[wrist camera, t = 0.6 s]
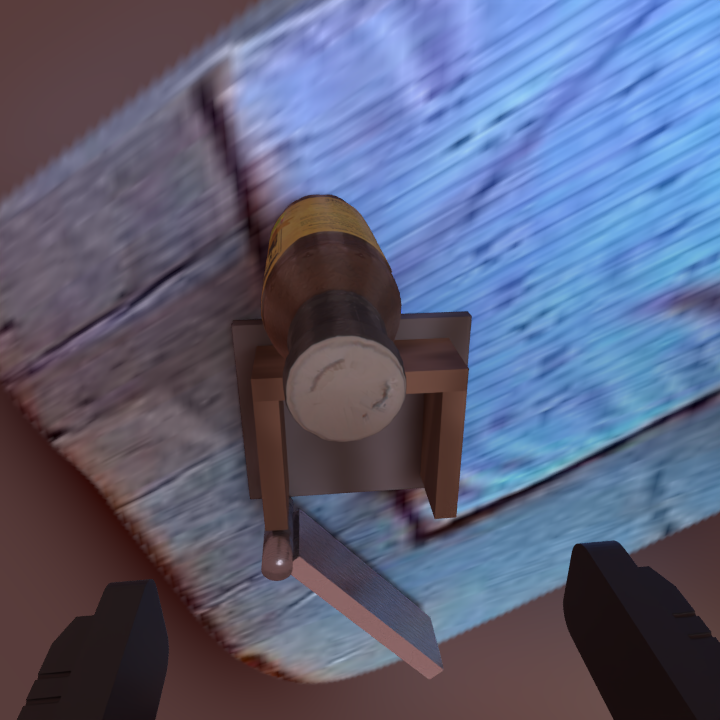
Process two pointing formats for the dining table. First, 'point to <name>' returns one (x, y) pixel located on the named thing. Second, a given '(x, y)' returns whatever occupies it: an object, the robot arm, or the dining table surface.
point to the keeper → (351, 589)
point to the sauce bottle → (333, 320)
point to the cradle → (371, 454)
